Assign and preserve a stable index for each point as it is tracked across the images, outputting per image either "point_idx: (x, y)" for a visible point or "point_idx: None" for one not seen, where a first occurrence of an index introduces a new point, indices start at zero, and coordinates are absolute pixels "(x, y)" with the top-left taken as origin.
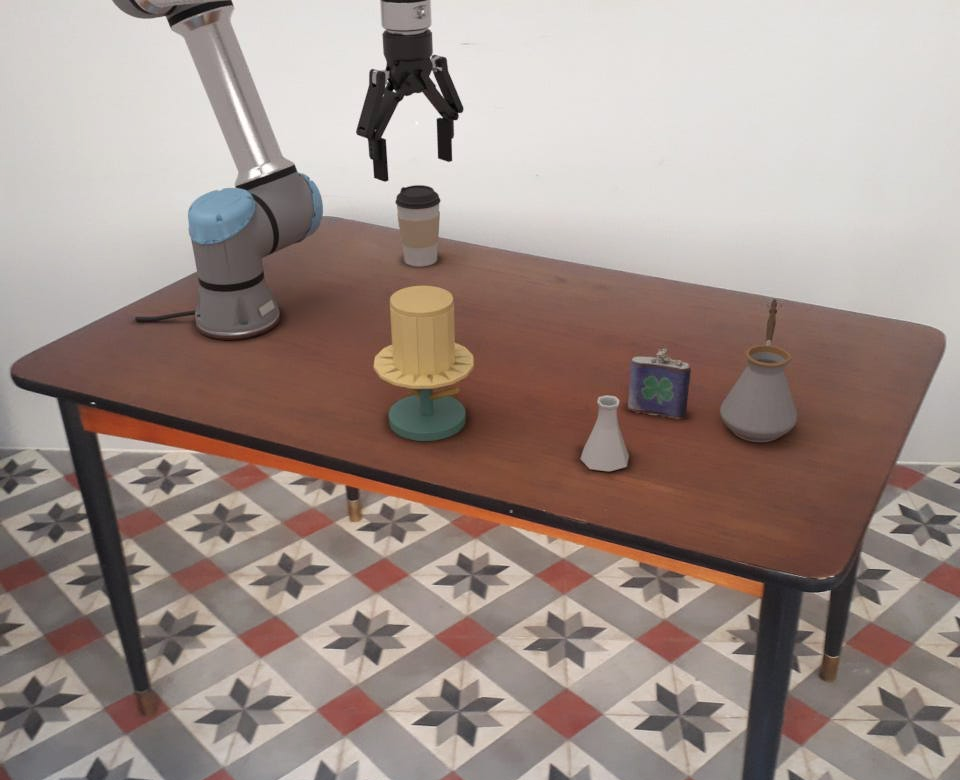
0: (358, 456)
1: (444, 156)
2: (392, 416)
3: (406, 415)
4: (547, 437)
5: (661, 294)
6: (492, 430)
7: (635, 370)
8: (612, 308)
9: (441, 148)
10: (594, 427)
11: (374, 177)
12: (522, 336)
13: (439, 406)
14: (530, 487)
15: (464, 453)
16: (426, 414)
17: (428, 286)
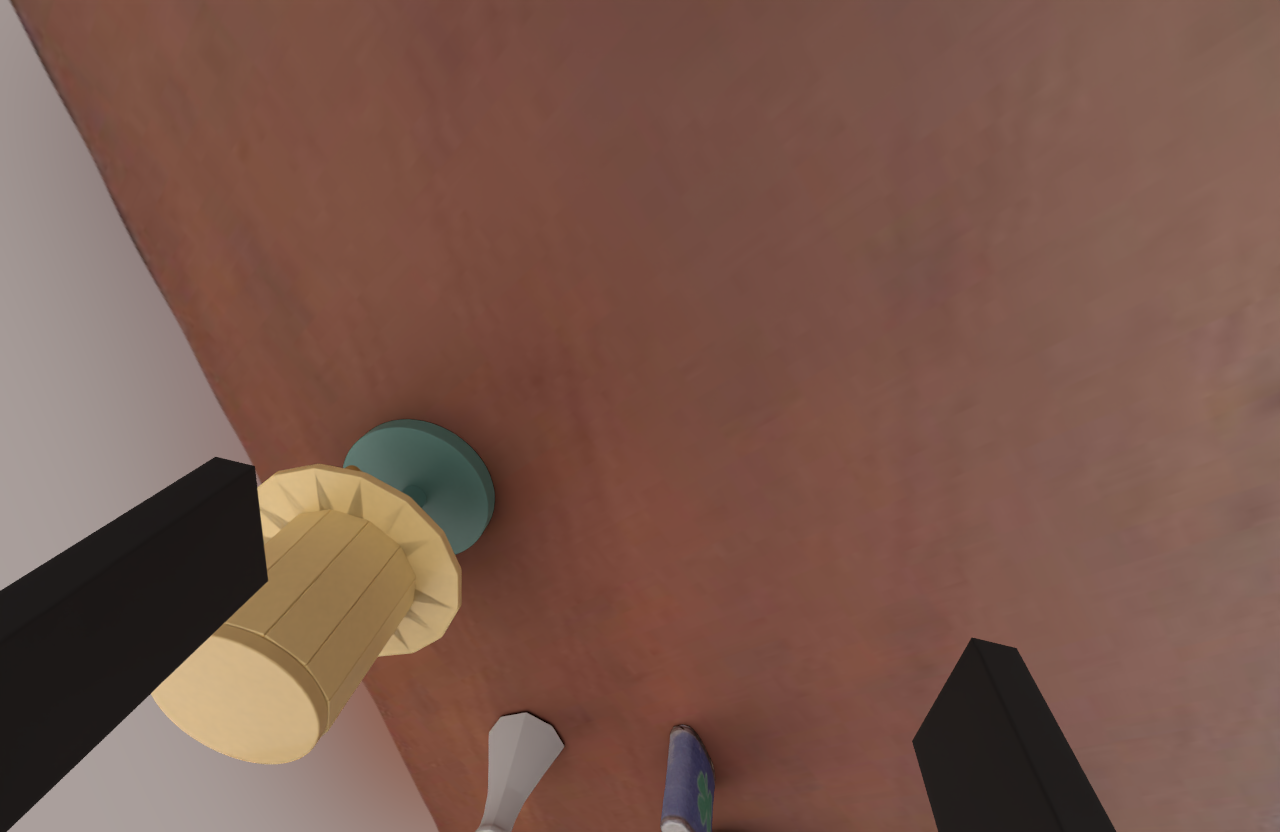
0: (260, 450)
1: (947, 735)
2: (357, 451)
3: (379, 471)
4: (522, 660)
5: (1246, 643)
6: (479, 587)
7: (662, 811)
8: (1107, 579)
9: (988, 777)
10: (495, 779)
11: (213, 463)
12: (847, 471)
13: (446, 503)
14: (403, 685)
15: None
16: None
17: (294, 686)
